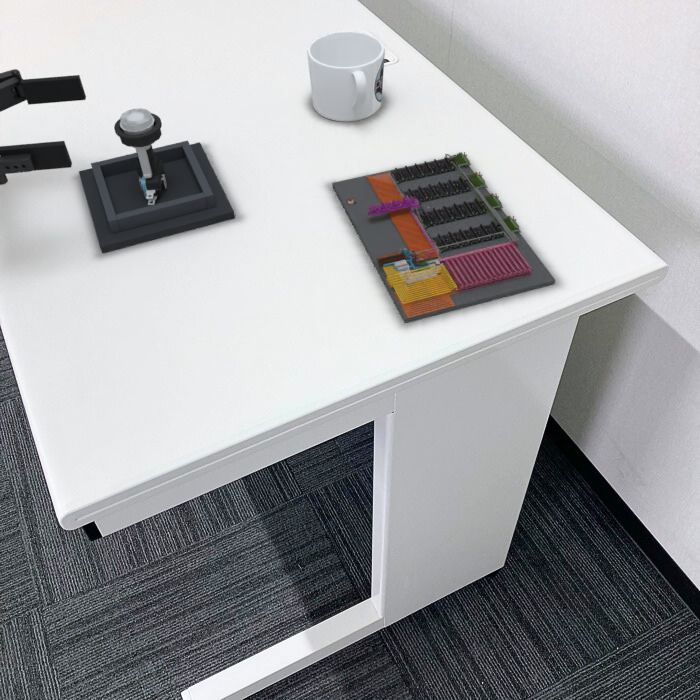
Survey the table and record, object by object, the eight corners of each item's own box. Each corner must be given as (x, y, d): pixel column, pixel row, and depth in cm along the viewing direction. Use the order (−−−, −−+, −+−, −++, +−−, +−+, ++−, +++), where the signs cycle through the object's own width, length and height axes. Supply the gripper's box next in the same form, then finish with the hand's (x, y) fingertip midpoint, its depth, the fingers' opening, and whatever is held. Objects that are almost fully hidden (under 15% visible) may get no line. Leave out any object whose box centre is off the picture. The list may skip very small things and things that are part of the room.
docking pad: (102, 253, 86) (95, 234, 84) (80, 177, 96) (74, 159, 93) (235, 218, 90) (231, 199, 87) (201, 148, 99) (197, 130, 97)
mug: (303, 90, 109) (299, 36, 102) (372, 79, 110) (372, 26, 104) (325, 140, 100) (322, 85, 94) (399, 127, 102) (401, 72, 96)
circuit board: (554, 283, 81) (559, 265, 79) (404, 323, 78) (405, 304, 75) (460, 158, 97) (462, 140, 95) (332, 186, 93) (331, 168, 91)
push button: (173, 207, 89) (155, 135, 82) (129, 210, 89) (107, 137, 82) (177, 174, 94) (161, 103, 86) (135, 177, 94) (115, 105, 86)
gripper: (-80, 106, 91) (96, 92, 92) (-144, 237, 74) (72, 217, 76) (-110, 47, 85) (78, 33, 87) (-186, 174, 69) (48, 154, 70)
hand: (75, 119), depth 81 cm, fingers open, 13 cm apart
